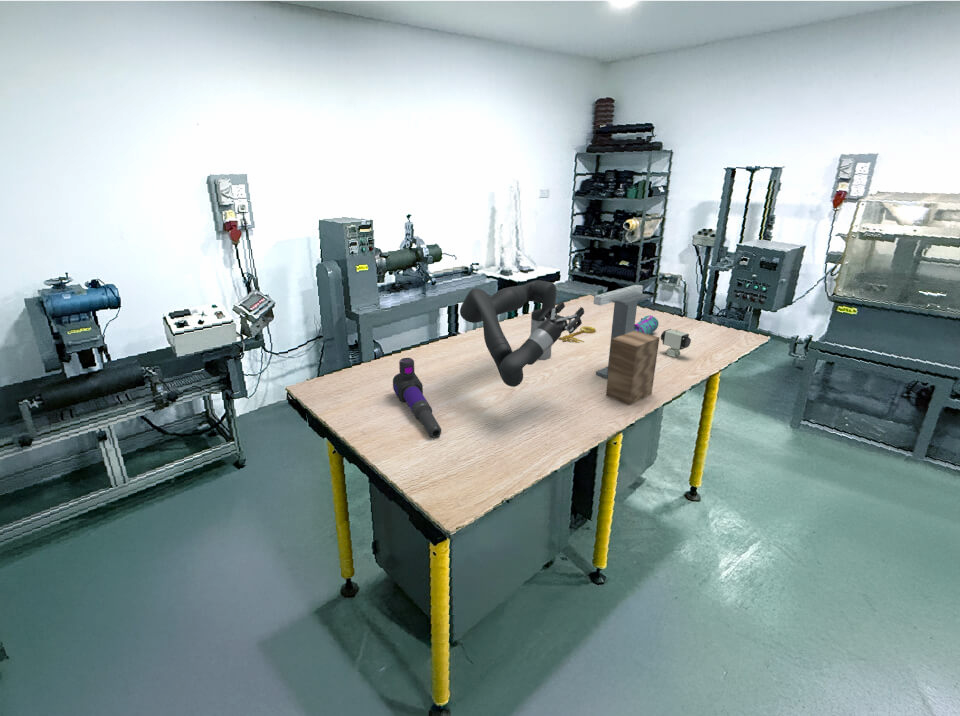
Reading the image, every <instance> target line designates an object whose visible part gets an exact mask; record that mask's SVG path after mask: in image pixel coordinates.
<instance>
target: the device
mask: <svg viewBox="0 0 960 716" xmlns="http://www.w3.org/2000/svg"><path fill="white" fill-rule="evenodd" d="M398 365H399V366H398V367H399V373H397V374H395V376H394V377H393V378H392V389H393V392H394V394H395V395H396V397H397V398H398V401H400V402H401V403H403V404H407V406H408V407H409V409H410V411H411V412H412V414H413V416H414V419H416V420H418V421H419V422H420V423H421V425H422V426H423V428H424V429H425V430H426V431H425V432H427V434H428V436H429V437H431V438H435V439H436V438H439V437H440V435H441V434H442V428H441V426H440V424H439V423H438V421H437V419H436V418H435V415H434V414H433V408H432V406H431V405H430V404H429V402H428V400H427V399H426V397H425V396H424V394H423V393H424V387H423V383H422V382H421V380H420V379H419V377H418V375H417V374H416V373H415V360H414V359H413V358H411V357H402V358H401V359H400V360H399V361H398Z"/></svg>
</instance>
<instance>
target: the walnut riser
mask: <svg viewBox="0 0 960 716" xmlns="http://www.w3.org/2000/svg"><path fill="white" fill-rule="evenodd" d="M660 339H661V336H660V337H659V336H656V335H653V334H650V335H649V334H646V333H642V332H639V331H632V332H629V333H627V334H624V335H621V336H618V337H616V338H613V339H612V342H611V341H610V343H611V351H610V350H609V352H610V361H609V360H608V362H609V371H608V379H606V380H607V382H606V390H605V396H607V397H609V398H611V399H613V400H616V401H619V402H621V403H624V404H626V405H628V406H630V405H632V404H635V403H637V402H639V401H640V400H641V399H644V398H646V397H647V396H650V395H651V394H652V393H653V388H654V387H653V386H654V380H655V379H654V378H655V373H656V365H657V358H658V352H659V345H660V344H659V343H660Z"/></svg>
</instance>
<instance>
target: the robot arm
mask: <svg viewBox="0 0 960 716" xmlns="http://www.w3.org/2000/svg"><path fill="white" fill-rule="evenodd" d="M556 300H557V286H556V284H555V283H554V282H550V281H544V280H539V279H538V280H537V279H536V280H532V281H529V282H528V283H525V284H522V285H516V286H514V285H513V286H509V287H505V288H502V289H499V290H497V291H496V292H495V293H493V294H492V295H491V296H490V294H488V292H486V291H485V290H484V289H481V288H477V287H476V288H472V289H471V290H469V291H468V293H467V294H466V297H465V298H464V300H463V302H462V304H461V307H460V309H459V314H460V316H461V318H462V320H464V321H466V322H468V323H473V324H475V323H477V324H478V323H481V322H482V328H483V338H484V343H485V346H486V348H487V350H488V352H489V354H490V356H491V358H492V359H493V361H494V363H495V366H496V369H497V370H498V373H499V376H500V378H501V380H502V382H503V383H504V384H506V386H508V387H511V388H514V387H517V386H519V385H521V384H522V382H523V379H524V370H523V369H524V367H525V366H526V365H530V366H531V365H534V364H535V363H536V362H537V361H538V360H542V361H543V360H548V359H550V358H551V357H552V346H553V345H554V344H555V343H556V342H557V341H558V339H559V338H560V337H562V336H561V335H562V333H563V332H565V331H566V332H568V335H569V334H573V333H575V332H574V331H576V330H577V329H578V328H579V327H580V326H581V325H582V324H583V323H582V319H581V317H583V315H585V309H584V307H582V306H581V307H579V308H578V310H577V311H576V312H575V313H574V314H572V315H567V316H563V315H562V316H561V315H560V313H561V312H562V311H563V310H564V308H565V307H566V305H565V302H563V301H561V302H559V303H558V304H557V305H556ZM527 302H533V303H538V304H541V308H538V309H534V310H532V312H531V317H530V318H531V319H530V335H529V337H528V338H527V339H526V340H525V342H523V343H522V345H521V346H520V347H519V348H517V349H515V350H512V349H513V348H512V347H511V344H510V343H509V341H508V340H507V338H506V335H505V334H504V332H503V330H502V327H501V324H500V322H499V318H498V316H499V315H502V314H505V313H508V312H509V313H510V312H513V311H517V310H520V309H522V308H523V307H524V305H525V304H526V303H527ZM567 320H568V321H567Z"/></svg>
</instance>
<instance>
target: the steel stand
mask: <svg viewBox="0 0 960 716" xmlns="http://www.w3.org/2000/svg"><path fill="white" fill-rule="evenodd" d="M650 298H651V294H646V293H642V294H639V295H636V296H632V297H629V298H625V299H622V300H618V301H615V302H612V303H613V305H614V306H613V315H612V325H611V334H610V335H611V336H610V343H609V353H608V354H609V355H608V364H607V365H608V366H606V367H604V368H601V369H598V370H597V371H595V375H596V377H597V376H598V377H600V378H603V379H605V380H608V371H609V361H610V351H611V342H612V339H613V338H616V337H618V336H621V335H624V334H627V333H629V332H632V331H634V326H635V324H636V316H637V308H638V302H640V301H644V300H648V299H650Z"/></svg>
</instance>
